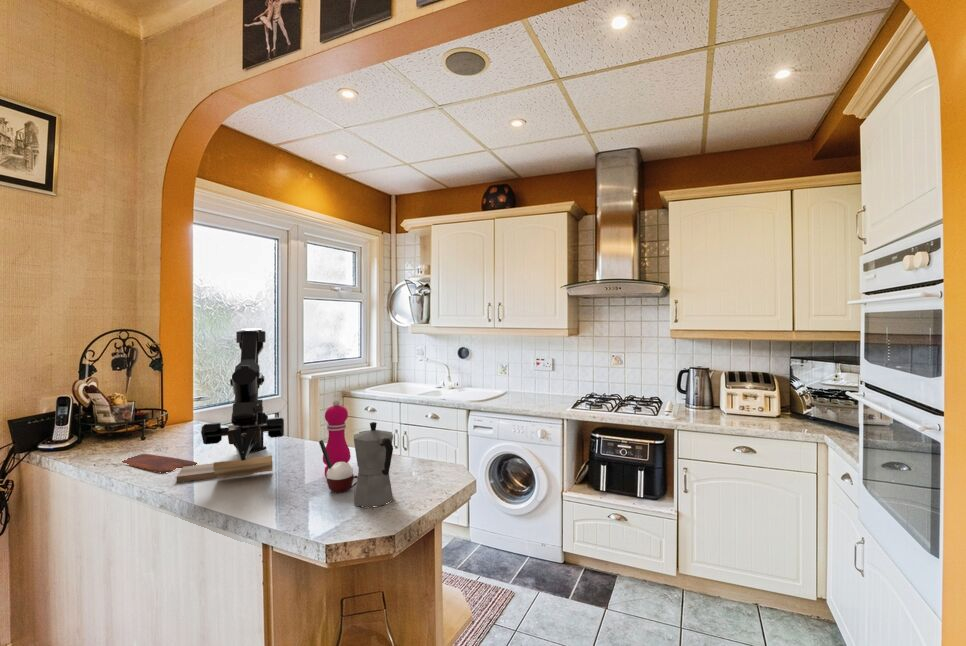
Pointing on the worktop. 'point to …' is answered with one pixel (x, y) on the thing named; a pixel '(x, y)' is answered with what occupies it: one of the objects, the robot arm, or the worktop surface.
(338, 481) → the cocoa
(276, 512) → the worktop surface
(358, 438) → the coffeepot
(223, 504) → the worktop surface
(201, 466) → the weathered wooden board
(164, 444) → the worktop surface
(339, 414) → the pepper mill
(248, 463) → the oak plank
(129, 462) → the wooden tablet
